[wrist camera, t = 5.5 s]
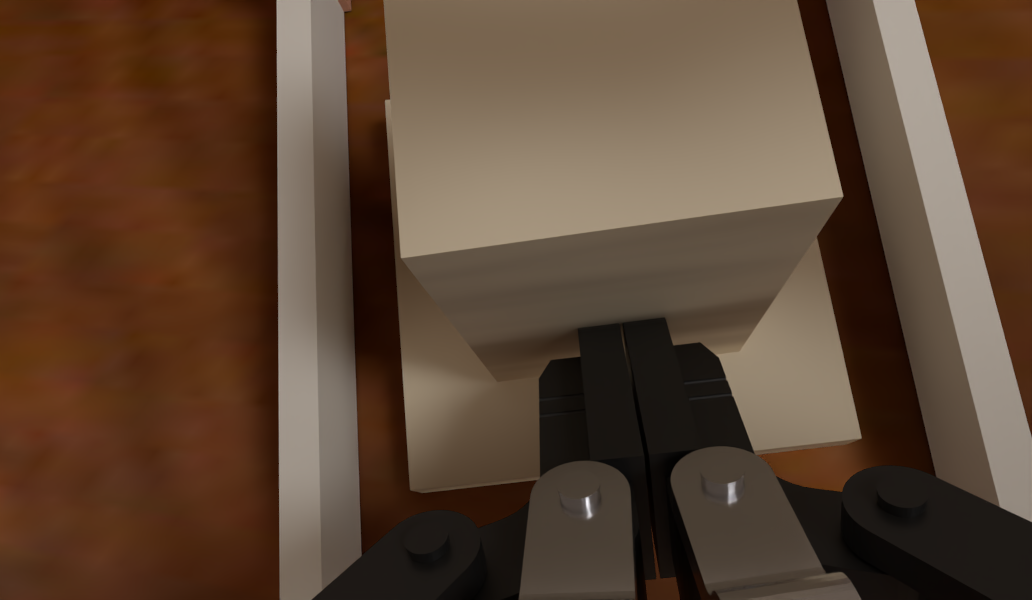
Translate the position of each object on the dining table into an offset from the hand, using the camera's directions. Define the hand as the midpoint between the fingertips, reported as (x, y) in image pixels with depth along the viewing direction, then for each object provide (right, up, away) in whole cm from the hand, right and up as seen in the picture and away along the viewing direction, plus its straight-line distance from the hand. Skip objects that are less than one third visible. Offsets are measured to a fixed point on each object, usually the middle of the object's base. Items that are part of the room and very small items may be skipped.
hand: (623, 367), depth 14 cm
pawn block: (0, +2, +5) cm, 5 cm away
